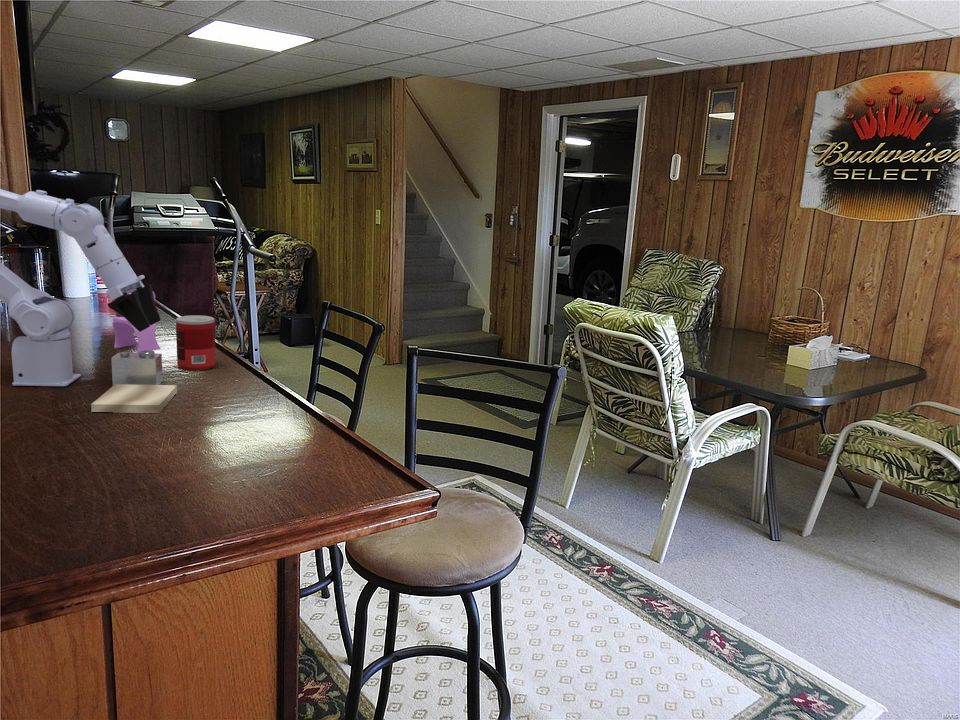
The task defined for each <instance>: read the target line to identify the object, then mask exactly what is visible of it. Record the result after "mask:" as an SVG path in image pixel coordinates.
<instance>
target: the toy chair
mask: <svg viewBox="0 0 960 720" xmlns="http://www.w3.org/2000/svg"><path fill="white" fill-rule="evenodd" d="M129 294H131V293H129ZM153 298H154V301H156V294H155V292H154V291H153ZM156 326H157V323H155V324H153V325H150V327H148V328H146V329H145V330H143V331H141V332H139V331H138V330H137V329H136V328H135V327H134V326H133V325H132V324H131V323H130V322H129V321H128V320H127V319H126V318H124V317H123V316H115V317H112V328H113V331H114V337H115V339H114V345H113V348H114V349H118V348H124V347H130V346H136V345H137V350H136V353H139V351H145V350H150V351H159V350H161V347H160V345H159V344H158V341H157V338H156V328H157V327H156ZM133 331H134V332H135V335H136V338H137V339H135V336H134V332H133Z"/></svg>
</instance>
